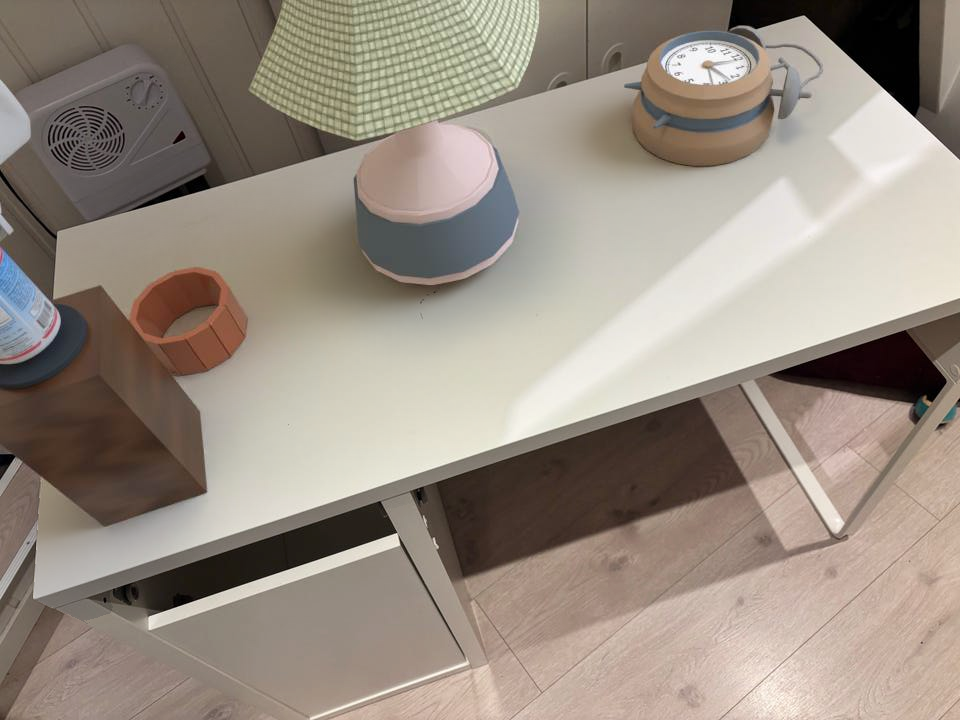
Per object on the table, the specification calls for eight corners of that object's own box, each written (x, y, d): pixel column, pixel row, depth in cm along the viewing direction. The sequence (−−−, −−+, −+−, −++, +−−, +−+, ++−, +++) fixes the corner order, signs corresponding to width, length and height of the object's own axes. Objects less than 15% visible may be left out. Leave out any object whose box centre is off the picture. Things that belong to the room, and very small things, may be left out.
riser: (104, 527, 70) (-35, 417, 55) (105, 441, 76) (-20, 321, 61) (207, 492, 71) (99, 374, 56) (200, 410, 77) (100, 284, 62)
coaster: (-20, 402, 56) (-25, 398, 55) (-9, 326, 60) (-14, 321, 60) (86, 369, 56) (82, 364, 56) (88, 296, 61) (84, 291, 61)
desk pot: (210, 384, 79) (187, 353, 75) (135, 360, 83) (109, 329, 78) (264, 312, 84) (246, 279, 80) (191, 291, 88) (170, 259, 84)
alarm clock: (612, 40, 92) (786, -7, 93) (611, 105, 99) (772, 60, 101) (670, 116, 82) (864, 61, 83) (664, 182, 89) (842, 131, 90)
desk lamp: (305, 210, 94) (148, -170, 61) (512, 141, 97) (469, -256, 64) (353, 356, 79) (178, -46, 46) (597, 268, 82) (597, -167, 49)
